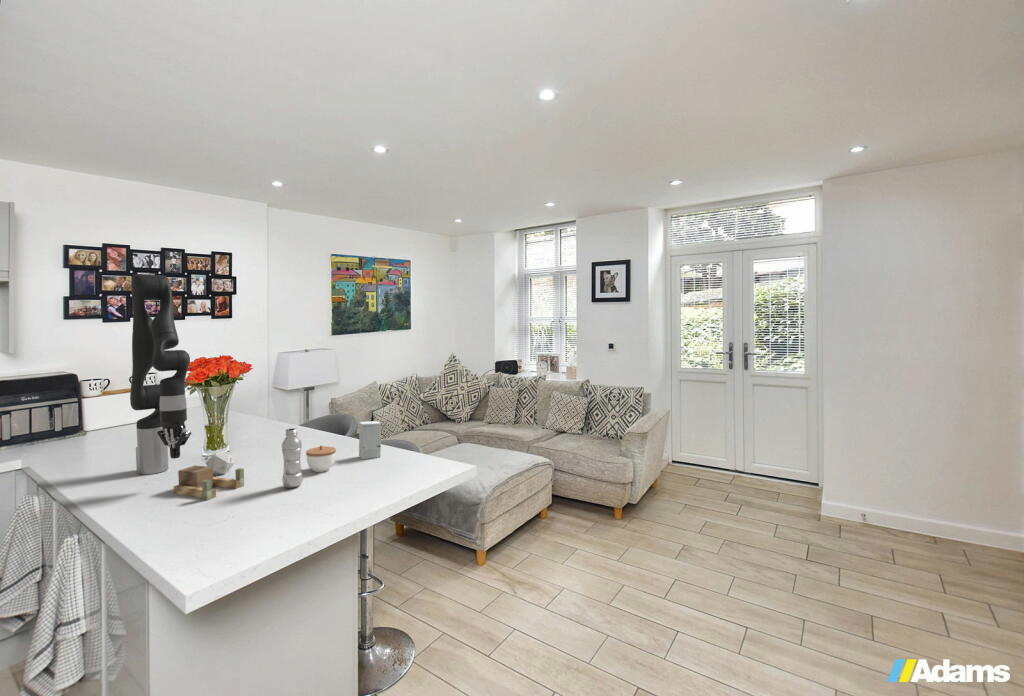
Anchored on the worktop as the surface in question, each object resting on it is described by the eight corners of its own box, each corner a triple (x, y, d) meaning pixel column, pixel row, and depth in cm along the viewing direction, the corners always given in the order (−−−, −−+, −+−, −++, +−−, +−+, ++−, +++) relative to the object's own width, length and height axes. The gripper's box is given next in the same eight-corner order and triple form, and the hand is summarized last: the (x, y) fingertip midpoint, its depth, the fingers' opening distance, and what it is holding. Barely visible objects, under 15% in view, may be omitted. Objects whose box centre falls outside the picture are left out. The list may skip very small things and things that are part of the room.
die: (213, 480, 172) (231, 457, 175) (196, 467, 174) (214, 444, 176) (226, 481, 180) (243, 459, 183) (209, 469, 181) (226, 447, 184)
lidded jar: (316, 476, 175) (315, 451, 175) (301, 470, 182) (300, 446, 181) (341, 468, 184) (341, 445, 183) (326, 464, 190) (326, 441, 190)
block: (179, 490, 159) (178, 470, 159) (195, 485, 165) (194, 465, 165) (197, 493, 157) (196, 472, 157) (213, 487, 163) (212, 467, 162)
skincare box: (361, 459, 196) (360, 424, 195) (358, 456, 201) (358, 421, 201) (381, 457, 200) (381, 422, 199) (378, 453, 205) (378, 419, 204)
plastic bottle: (282, 491, 159) (281, 432, 158) (282, 485, 165) (280, 428, 164) (303, 488, 162) (302, 430, 161) (302, 482, 168) (300, 426, 167)
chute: (169, 495, 155) (168, 477, 155) (208, 481, 169) (207, 465, 168) (207, 500, 151) (206, 481, 150) (244, 485, 164) (243, 468, 164)
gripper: (147, 409, 160) (149, 459, 161) (177, 410, 157) (179, 462, 157) (169, 405, 168) (171, 454, 168) (198, 407, 164) (200, 456, 165)
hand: (175, 457), depth 163 cm, fingers closed
